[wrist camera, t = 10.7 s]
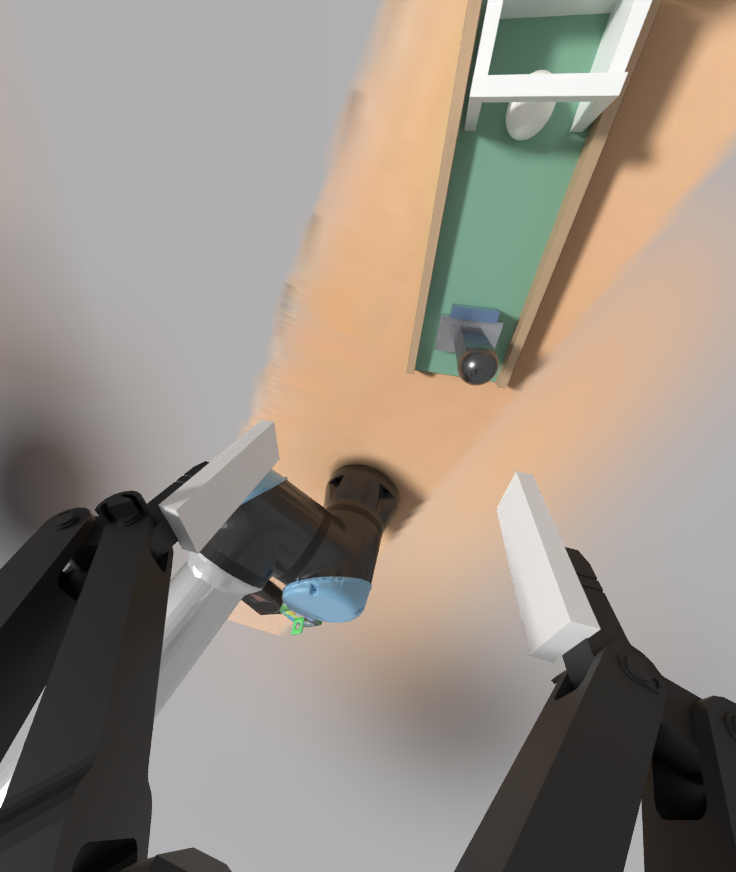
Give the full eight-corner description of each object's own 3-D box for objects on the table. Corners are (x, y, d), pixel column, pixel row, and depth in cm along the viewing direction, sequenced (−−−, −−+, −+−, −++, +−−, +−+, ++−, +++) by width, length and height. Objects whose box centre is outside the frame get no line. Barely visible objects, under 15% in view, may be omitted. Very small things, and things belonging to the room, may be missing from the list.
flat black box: (262, 572, 87) (255, 584, 84) (294, 601, 93) (289, 613, 89) (235, 578, 95) (227, 589, 91) (266, 603, 100) (260, 614, 97)
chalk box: (315, 564, 75) (290, 621, 63) (336, 582, 77) (317, 640, 65) (296, 570, 80) (270, 625, 67) (317, 587, 82) (295, 642, 70)
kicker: (489, 353, 33) (516, 402, 21) (434, 346, 34) (430, 388, 22) (504, 309, 30) (545, 335, 18) (443, 302, 31) (444, 323, 19)
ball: (542, 128, 23) (541, 150, 22) (500, 127, 24) (497, 149, 23) (567, 60, 20) (568, 81, 19) (518, 61, 21) (516, 82, 19)
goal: (581, 132, 22) (618, 95, 18) (464, 130, 24) (469, 96, 19) (634, -12, 19) (699, -108, 14) (489, -3, 20) (504, -86, 15)
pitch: (501, 380, 36) (505, 388, 33) (408, 366, 38) (406, 373, 35) (648, -2, 19) (679, -42, 17) (468, 9, 21) (472, -25, 19)
